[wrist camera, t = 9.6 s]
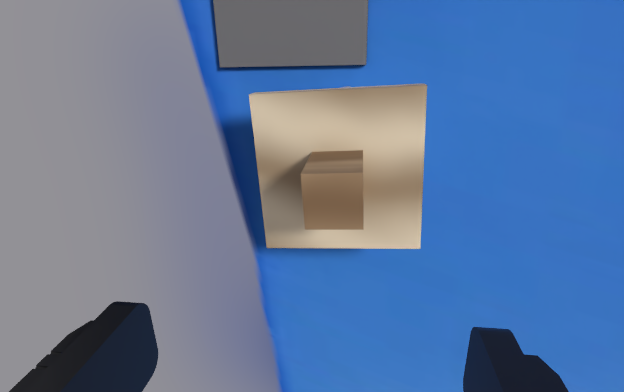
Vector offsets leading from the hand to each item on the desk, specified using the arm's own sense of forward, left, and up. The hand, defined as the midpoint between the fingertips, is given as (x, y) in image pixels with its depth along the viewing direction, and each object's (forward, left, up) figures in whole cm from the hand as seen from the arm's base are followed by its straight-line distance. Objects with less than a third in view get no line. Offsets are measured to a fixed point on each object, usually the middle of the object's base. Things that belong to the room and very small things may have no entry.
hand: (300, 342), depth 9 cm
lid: (0, 0, -16) cm, 16 cm away
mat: (-11, -4, -20) cm, 23 cm away
